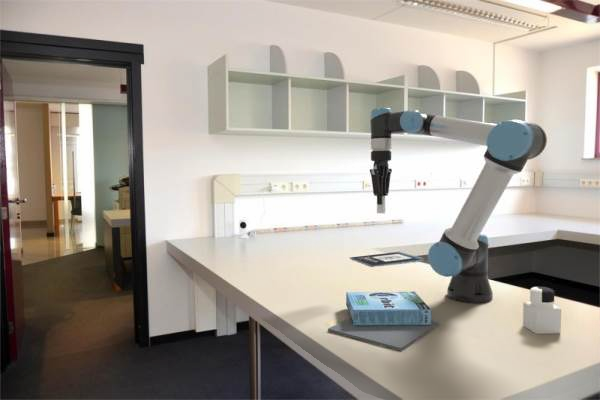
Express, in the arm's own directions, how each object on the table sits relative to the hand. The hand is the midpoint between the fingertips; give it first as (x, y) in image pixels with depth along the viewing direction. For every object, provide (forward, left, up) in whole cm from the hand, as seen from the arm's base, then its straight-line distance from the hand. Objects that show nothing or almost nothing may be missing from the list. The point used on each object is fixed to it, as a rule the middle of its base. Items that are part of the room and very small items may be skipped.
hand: (381, 213), depth 170 cm
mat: (-21, +36, -29) cm, 51 cm away
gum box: (-8, +35, -26) cm, 44 cm away
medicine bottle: (-57, +10, -30) cm, 65 cm away
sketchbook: (+25, -50, -30) cm, 64 cm away
